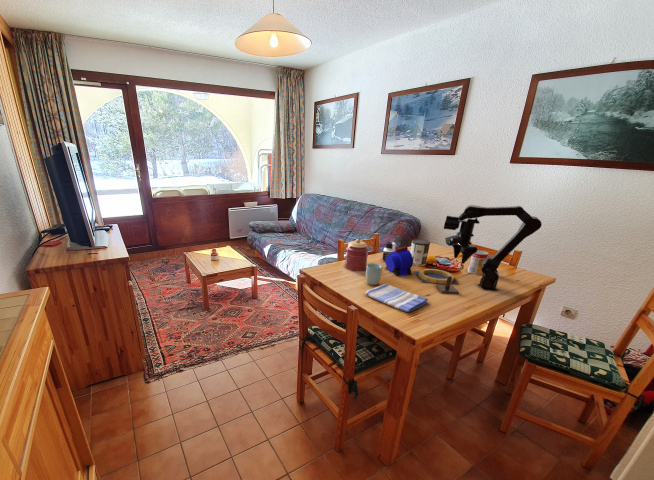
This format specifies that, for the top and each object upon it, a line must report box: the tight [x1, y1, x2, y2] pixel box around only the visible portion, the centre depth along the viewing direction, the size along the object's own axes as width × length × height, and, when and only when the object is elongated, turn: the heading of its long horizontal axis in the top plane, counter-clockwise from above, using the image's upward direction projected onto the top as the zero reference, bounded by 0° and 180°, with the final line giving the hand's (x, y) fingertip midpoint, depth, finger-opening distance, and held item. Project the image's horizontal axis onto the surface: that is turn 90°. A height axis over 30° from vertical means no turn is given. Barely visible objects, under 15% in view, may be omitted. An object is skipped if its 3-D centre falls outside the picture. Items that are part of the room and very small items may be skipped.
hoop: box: [418, 268, 455, 285], centre depth 170 cm, size 17×17×2 cm
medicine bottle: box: [381, 241, 397, 263], centre depth 195 cm, size 7×7×12 cm
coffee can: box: [409, 238, 431, 267], centre depth 190 cm, size 10×10×14 cm
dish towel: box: [365, 283, 429, 313], centre depth 145 cm, size 17×24×3 cm
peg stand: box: [435, 276, 459, 295], centre depth 154 cm, size 8×8×8 cm
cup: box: [365, 263, 383, 286], centre depth 161 cm, size 8×8×10 cm
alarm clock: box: [385, 245, 414, 277], centre depth 176 cm, size 12×12×15 cm
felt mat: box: [413, 271, 459, 285], centre depth 171 cm, size 18×16×1 cm
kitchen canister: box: [344, 238, 369, 271], centre depth 183 cm, size 13×13×18 cm
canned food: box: [467, 249, 489, 276], centre depth 177 cm, size 8×8×12 cm
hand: (459, 260), depth 161 cm, fingers open, 9 cm apart
